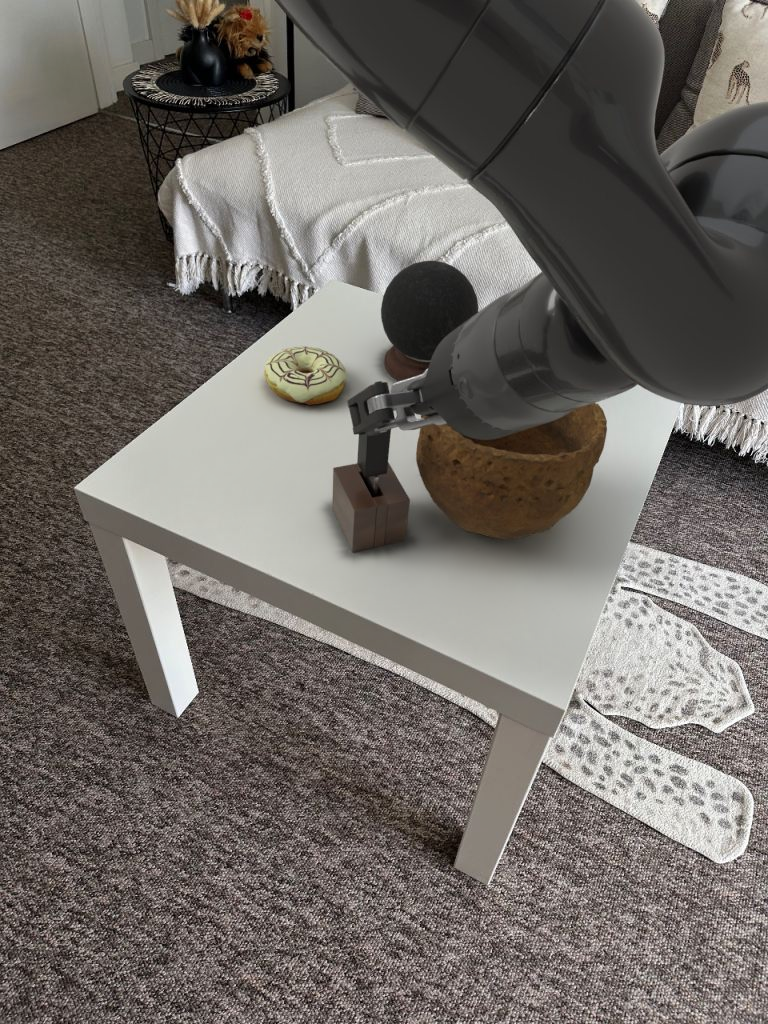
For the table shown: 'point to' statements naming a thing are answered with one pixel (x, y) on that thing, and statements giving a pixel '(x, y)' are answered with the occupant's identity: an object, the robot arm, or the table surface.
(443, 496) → the bowl
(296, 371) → the decorated donut
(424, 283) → the black ball on stand
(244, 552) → the table surface
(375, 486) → the knife
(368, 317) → the table surface
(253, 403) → the table surface
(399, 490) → the knife block
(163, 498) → the table surface
